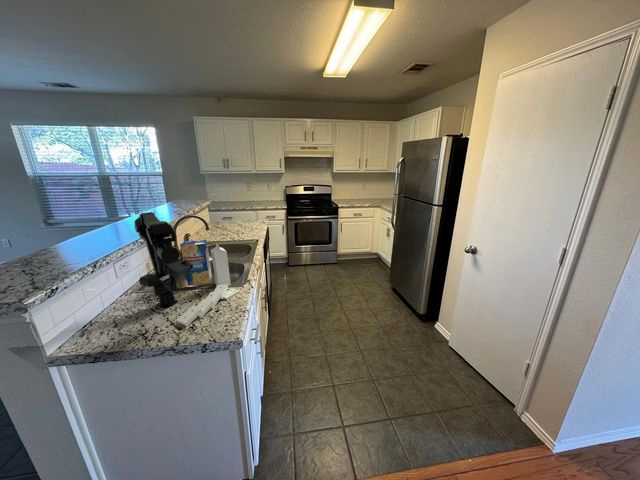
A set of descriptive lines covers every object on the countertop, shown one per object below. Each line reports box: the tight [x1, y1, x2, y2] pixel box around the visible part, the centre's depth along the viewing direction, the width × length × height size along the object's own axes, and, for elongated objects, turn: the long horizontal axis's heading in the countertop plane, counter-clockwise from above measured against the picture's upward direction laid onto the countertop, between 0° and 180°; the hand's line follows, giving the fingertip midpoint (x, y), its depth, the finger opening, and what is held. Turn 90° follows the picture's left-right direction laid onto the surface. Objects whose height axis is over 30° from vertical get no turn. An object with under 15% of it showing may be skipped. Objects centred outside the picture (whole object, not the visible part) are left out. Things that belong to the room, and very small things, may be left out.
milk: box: [210, 243, 231, 287], centre depth 129 cm, size 6×6×22 cm
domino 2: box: [196, 297, 214, 319], centre depth 108 cm, size 5×2×8 cm
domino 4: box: [213, 284, 229, 300], centre depth 121 cm, size 5×2×8 cm
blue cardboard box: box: [180, 239, 213, 287], centre depth 133 cm, size 7×11×22 cm, turn 104°
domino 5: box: [222, 287, 241, 301], centre depth 122 cm, size 5×2×8 cm
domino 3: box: [205, 291, 222, 310], centre depth 114 cm, size 5×2×8 cm
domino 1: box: [176, 305, 202, 327], centre depth 103 cm, size 5×2×8 cm
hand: (172, 292), depth 101 cm, fingers closed
